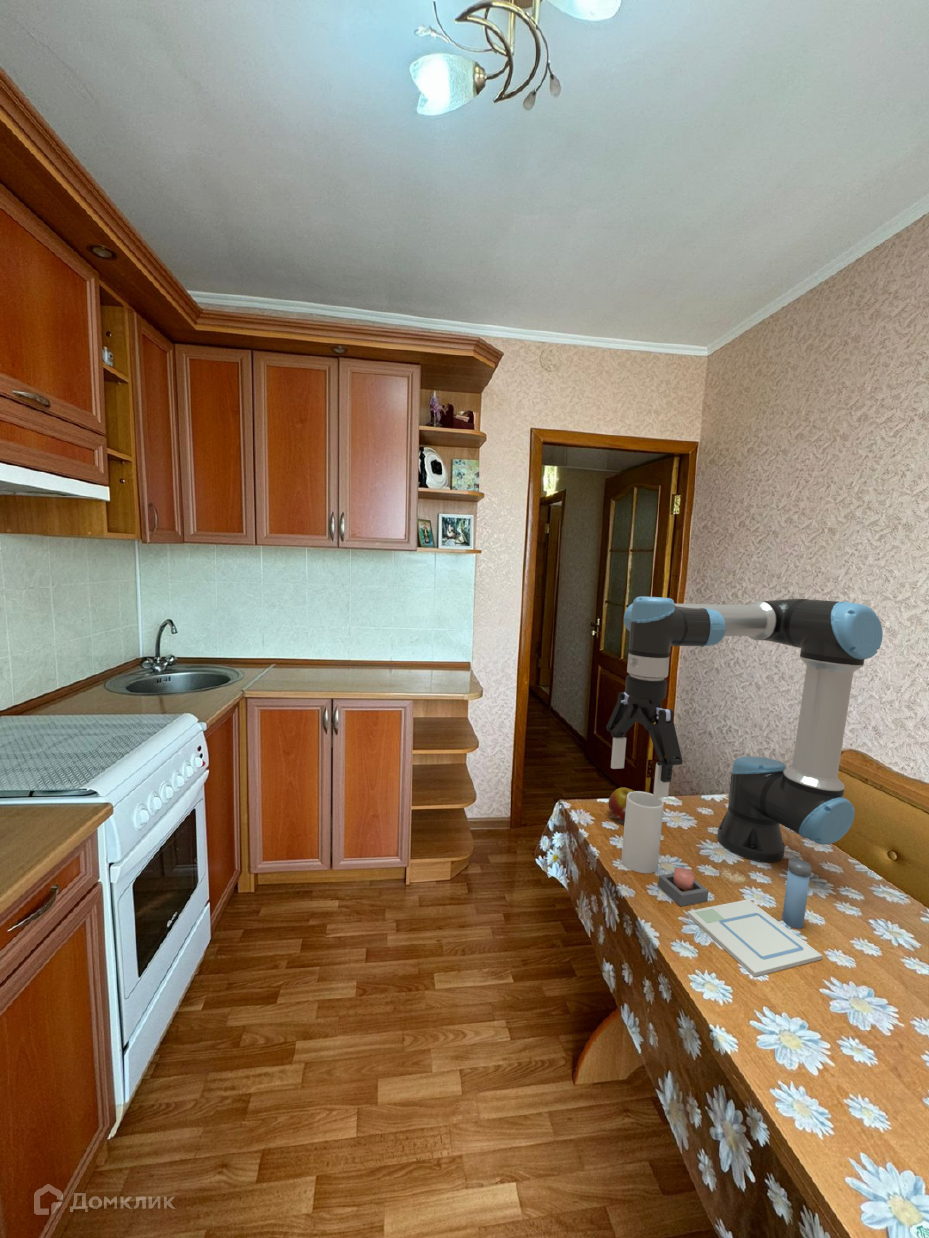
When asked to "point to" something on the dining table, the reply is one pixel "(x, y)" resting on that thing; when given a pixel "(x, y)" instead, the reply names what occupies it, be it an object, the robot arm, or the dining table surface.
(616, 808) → the fruit
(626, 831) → the cup
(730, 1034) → the dining table surface
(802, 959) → the board
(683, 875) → the button
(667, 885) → the button housing
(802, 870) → the marker
